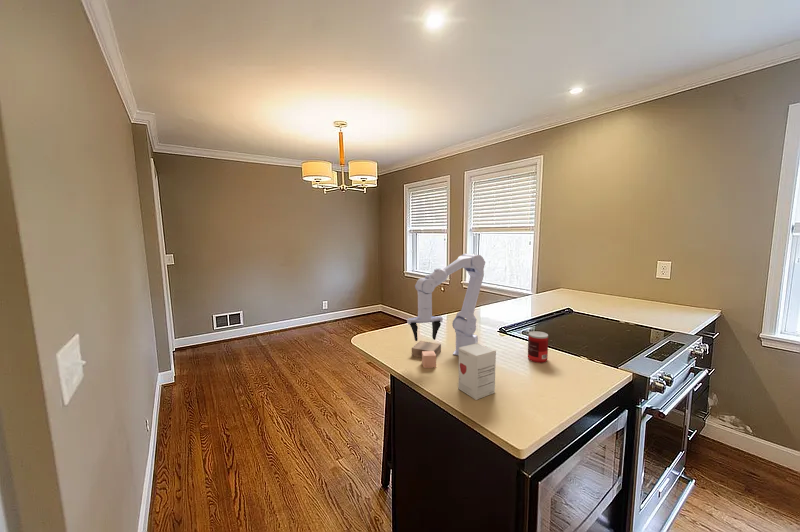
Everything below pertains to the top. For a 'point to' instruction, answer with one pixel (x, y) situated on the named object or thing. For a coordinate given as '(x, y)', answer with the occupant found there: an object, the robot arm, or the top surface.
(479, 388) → the supplement box
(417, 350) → the walnut block
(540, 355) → the canned food
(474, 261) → the robot arm
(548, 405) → the top surface
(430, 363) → the terracotta cube
